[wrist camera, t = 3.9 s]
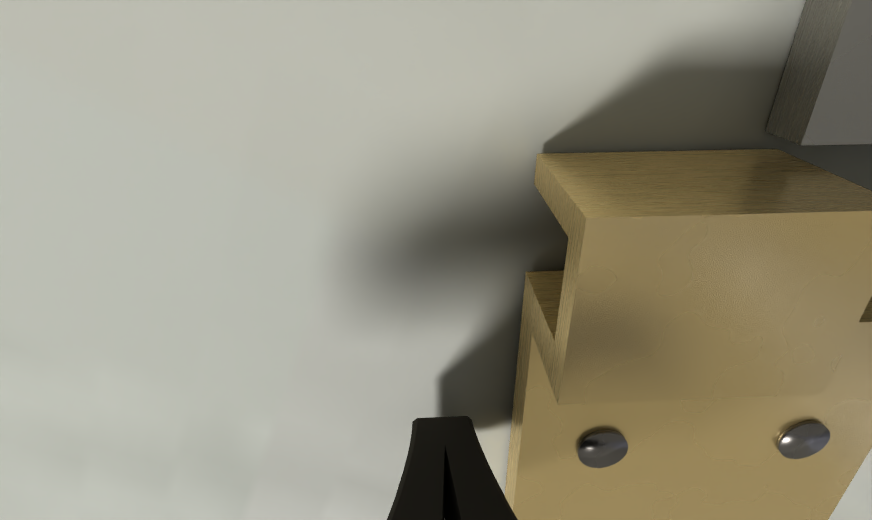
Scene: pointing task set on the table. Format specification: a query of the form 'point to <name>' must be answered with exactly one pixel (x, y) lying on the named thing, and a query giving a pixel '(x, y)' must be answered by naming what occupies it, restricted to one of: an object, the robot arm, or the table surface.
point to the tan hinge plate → (694, 340)
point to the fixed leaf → (827, 77)
